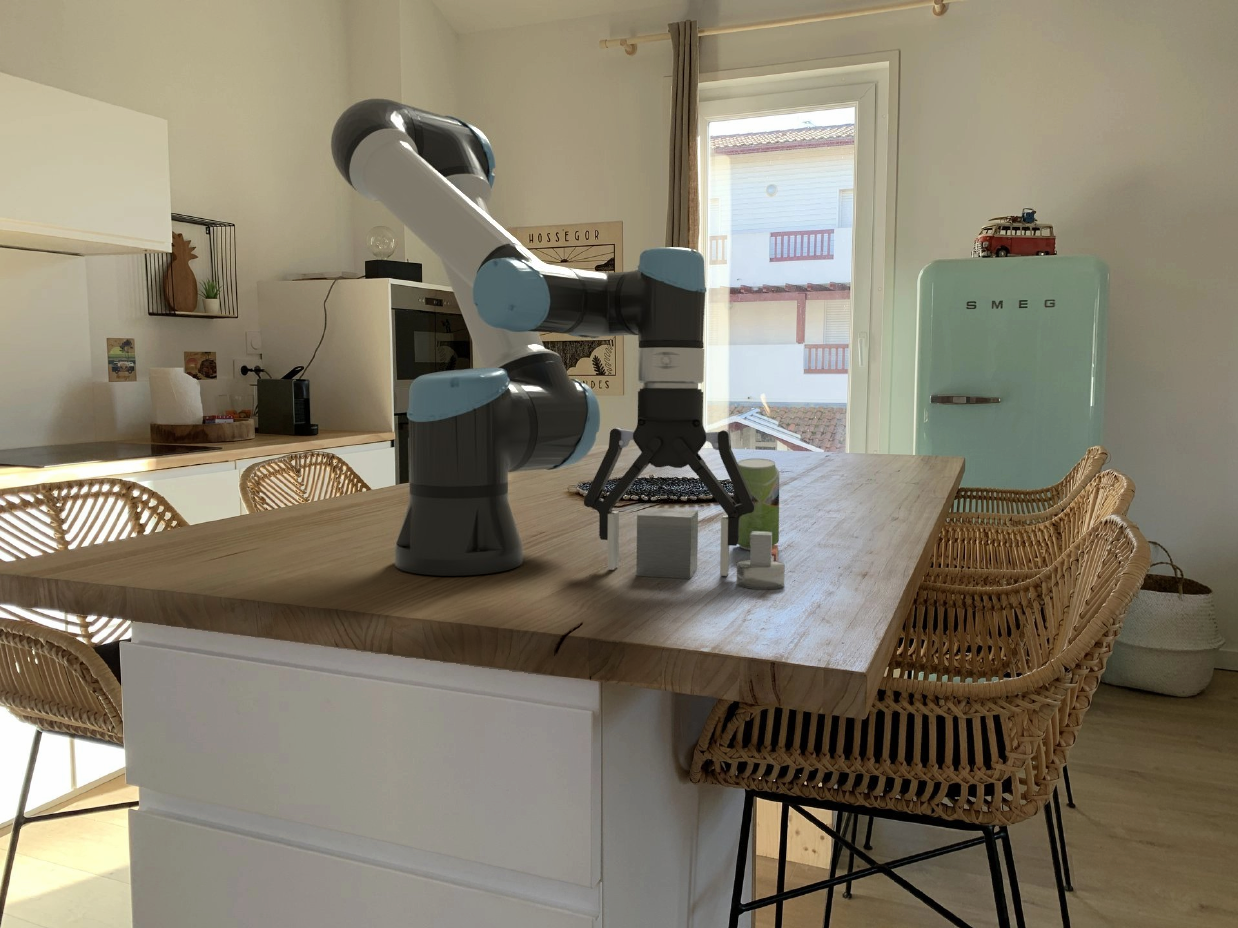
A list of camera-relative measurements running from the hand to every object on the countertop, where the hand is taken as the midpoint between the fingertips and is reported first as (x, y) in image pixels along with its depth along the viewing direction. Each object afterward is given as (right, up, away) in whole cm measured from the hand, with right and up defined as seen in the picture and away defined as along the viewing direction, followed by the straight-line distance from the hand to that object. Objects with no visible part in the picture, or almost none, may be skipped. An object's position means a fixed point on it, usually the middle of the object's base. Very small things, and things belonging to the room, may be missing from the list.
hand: (668, 570), depth 108 cm
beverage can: (+13, +1, +16) cm, 20 cm away
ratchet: (+11, 0, 0) cm, 11 cm away
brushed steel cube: (0, 0, 0) cm, 0 cm away
